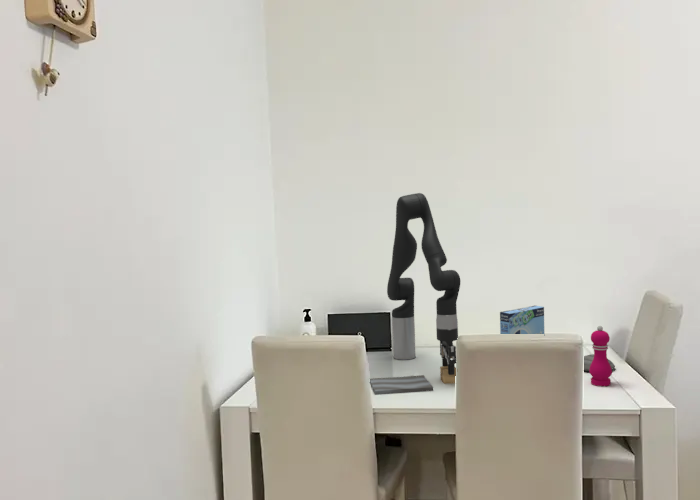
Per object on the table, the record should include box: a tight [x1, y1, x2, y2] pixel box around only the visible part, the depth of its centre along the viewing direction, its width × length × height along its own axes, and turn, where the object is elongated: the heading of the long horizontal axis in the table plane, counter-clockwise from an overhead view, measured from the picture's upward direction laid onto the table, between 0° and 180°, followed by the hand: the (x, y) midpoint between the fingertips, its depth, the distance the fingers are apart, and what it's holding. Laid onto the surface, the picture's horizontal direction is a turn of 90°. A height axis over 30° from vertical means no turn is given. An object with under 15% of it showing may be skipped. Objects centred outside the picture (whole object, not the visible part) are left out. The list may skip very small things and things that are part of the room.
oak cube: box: [439, 365, 457, 385], centre depth 234 cm, size 5×5×5 cm
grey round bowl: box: [583, 353, 616, 372], centre depth 244 cm, size 15×15×6 cm
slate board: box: [369, 374, 434, 395], centre depth 230 cm, size 16×20×1 cm
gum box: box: [499, 305, 545, 335], centre depth 246 cm, size 19×5×23 cm, turn 123°
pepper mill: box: [588, 325, 613, 387], centre depth 223 cm, size 7×7×20 cm
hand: (448, 371), depth 234 cm, fingers open, 8 cm apart
